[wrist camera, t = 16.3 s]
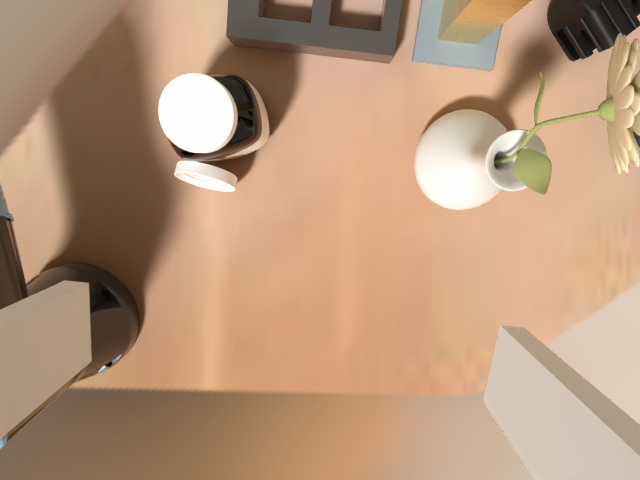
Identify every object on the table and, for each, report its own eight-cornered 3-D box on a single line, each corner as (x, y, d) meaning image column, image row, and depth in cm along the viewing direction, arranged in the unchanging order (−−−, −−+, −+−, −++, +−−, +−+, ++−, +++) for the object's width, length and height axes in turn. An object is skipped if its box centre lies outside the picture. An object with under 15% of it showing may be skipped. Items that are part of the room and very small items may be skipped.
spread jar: (261, 81, 42) (236, 52, 31) (287, 176, 45) (273, 181, 33) (166, 109, 43) (107, 90, 32) (196, 200, 45) (151, 213, 34)
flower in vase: (490, 216, 45) (681, 282, 20) (400, 197, 45) (485, 241, 20) (523, 107, 42) (792, 33, 18) (428, 87, 42) (566, -18, 17)
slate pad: (411, 61, 41) (413, 59, 41) (426, -28, 39) (427, -31, 39) (490, 70, 41) (492, 69, 41) (508, -18, 39) (510, -21, 39)
